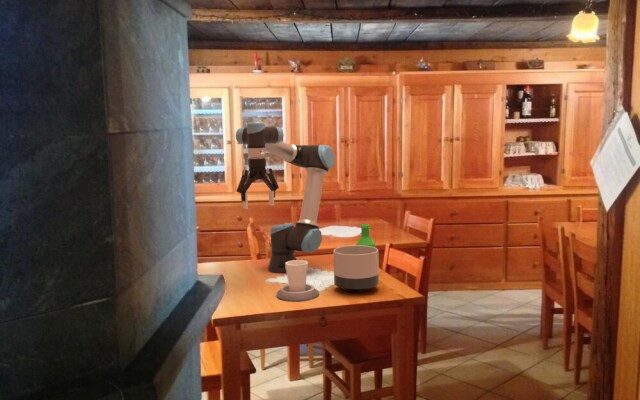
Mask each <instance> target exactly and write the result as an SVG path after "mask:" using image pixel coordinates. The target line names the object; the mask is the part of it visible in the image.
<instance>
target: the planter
mask: <svg viewBox="0 0 640 400" xmlns="http://www.w3.org/2000/svg"><path fill="white" fill-rule="evenodd" d="M332 251H333V284H334V285H335V286H336V287H338V288H340V289H343V290H345V291H347V292H350V293H363V292H366V291H369V290H370V289H372V288H375V287H377V286H378V285H379V281H380V279H379V278H380V277H379V275H380V274H379V270H380V268H379V249H378V247H376V246H375V247H371V246H363V245H356V244H351V245H343V246H339V247H336V248H334V249H333V250H332Z"/></svg>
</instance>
